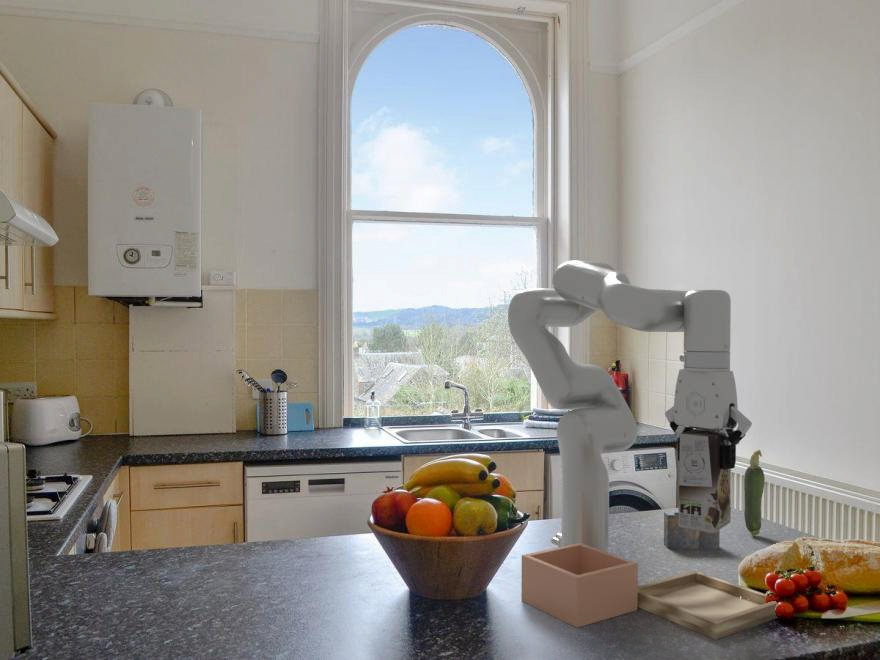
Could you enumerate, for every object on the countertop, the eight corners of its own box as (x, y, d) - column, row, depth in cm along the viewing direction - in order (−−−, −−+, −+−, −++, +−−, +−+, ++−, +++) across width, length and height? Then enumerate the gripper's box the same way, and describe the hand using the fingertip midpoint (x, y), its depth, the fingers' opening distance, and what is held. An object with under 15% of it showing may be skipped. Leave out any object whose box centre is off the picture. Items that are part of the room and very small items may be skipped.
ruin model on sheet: (734, 538, 172) (734, 496, 172) (764, 560, 156) (764, 514, 156) (625, 537, 173) (625, 495, 172) (644, 559, 156) (644, 513, 156)
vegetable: (739, 533, 175) (740, 448, 175) (754, 531, 176) (755, 447, 176) (752, 538, 171) (753, 451, 170) (768, 537, 172) (769, 450, 172)
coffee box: (716, 534, 122) (716, 435, 122) (677, 527, 126) (677, 432, 126) (732, 522, 129) (733, 429, 129) (695, 516, 133) (695, 426, 133)
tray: (628, 603, 130) (628, 588, 130) (695, 584, 140) (695, 570, 140) (716, 639, 115) (716, 623, 115) (784, 615, 125) (784, 600, 125)
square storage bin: (521, 600, 131) (521, 555, 131) (579, 585, 139) (580, 542, 139) (577, 627, 120) (577, 577, 120) (637, 609, 127) (637, 563, 127)
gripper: (651, 360, 133) (650, 458, 133) (737, 365, 118) (736, 475, 118) (679, 359, 137) (678, 454, 137) (766, 364, 122) (765, 470, 122)
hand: (705, 463), depth 128 cm, fingers closed on coffee box, 8 cm apart
